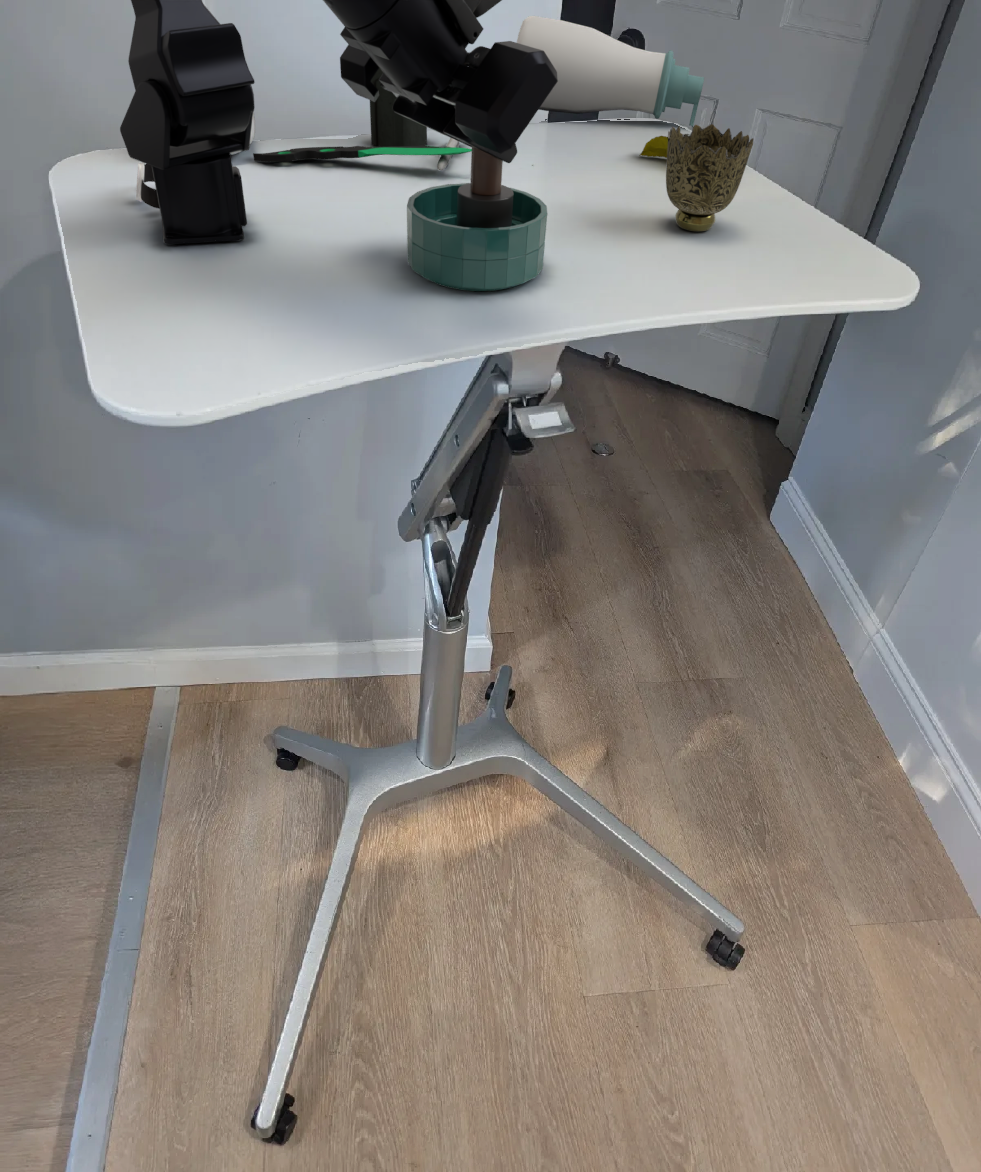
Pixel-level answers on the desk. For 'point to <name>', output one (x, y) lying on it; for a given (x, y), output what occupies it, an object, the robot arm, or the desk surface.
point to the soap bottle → (607, 71)
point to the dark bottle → (392, 122)
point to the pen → (445, 159)
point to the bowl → (474, 242)
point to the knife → (354, 152)
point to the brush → (484, 195)
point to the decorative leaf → (656, 147)
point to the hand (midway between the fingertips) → (501, 153)
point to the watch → (143, 190)
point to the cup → (704, 173)
